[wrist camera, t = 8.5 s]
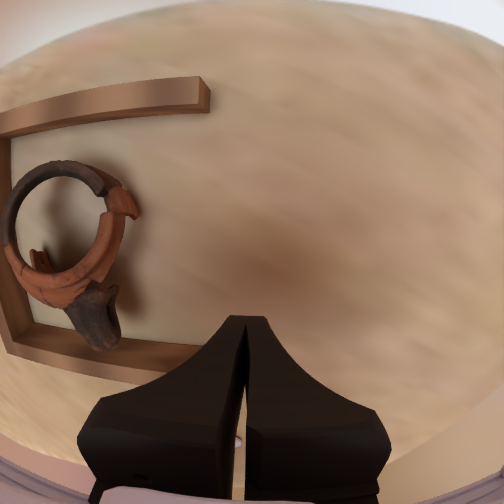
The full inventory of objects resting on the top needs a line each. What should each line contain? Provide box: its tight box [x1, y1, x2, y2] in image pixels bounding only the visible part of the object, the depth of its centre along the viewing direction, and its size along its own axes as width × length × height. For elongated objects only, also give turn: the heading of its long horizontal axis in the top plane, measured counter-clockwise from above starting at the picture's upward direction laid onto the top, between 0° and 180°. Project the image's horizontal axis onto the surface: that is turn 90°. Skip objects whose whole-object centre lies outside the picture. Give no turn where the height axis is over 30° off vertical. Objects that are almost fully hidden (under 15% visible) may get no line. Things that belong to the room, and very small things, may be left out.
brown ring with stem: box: [1, 160, 139, 352], centre depth 18 cm, size 12×10×8 cm
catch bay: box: [0, 76, 210, 385], centre depth 18 cm, size 18×19×4 cm
